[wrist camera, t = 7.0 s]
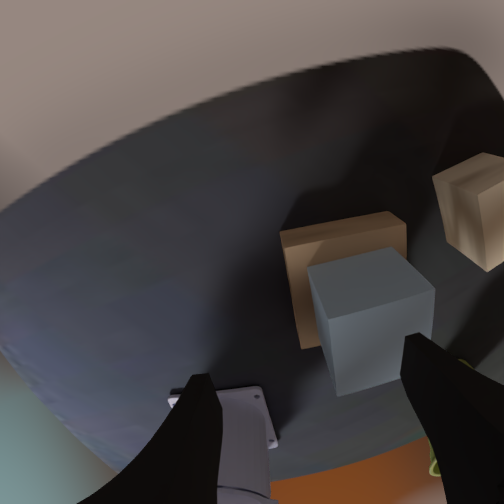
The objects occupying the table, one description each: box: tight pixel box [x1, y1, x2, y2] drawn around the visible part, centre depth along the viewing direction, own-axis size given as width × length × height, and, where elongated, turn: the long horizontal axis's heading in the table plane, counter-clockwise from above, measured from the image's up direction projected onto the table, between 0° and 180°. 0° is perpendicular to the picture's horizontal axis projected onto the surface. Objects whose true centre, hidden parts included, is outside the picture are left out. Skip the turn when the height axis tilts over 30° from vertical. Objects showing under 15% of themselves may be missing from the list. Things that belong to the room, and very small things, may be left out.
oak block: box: [279, 211, 407, 349], centre depth 19 cm, size 7×7×3 cm
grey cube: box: [307, 246, 435, 397], centre depth 15 cm, size 5×5×5 cm
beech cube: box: [432, 152, 504, 272], centre depth 16 cm, size 5×5×5 cm
